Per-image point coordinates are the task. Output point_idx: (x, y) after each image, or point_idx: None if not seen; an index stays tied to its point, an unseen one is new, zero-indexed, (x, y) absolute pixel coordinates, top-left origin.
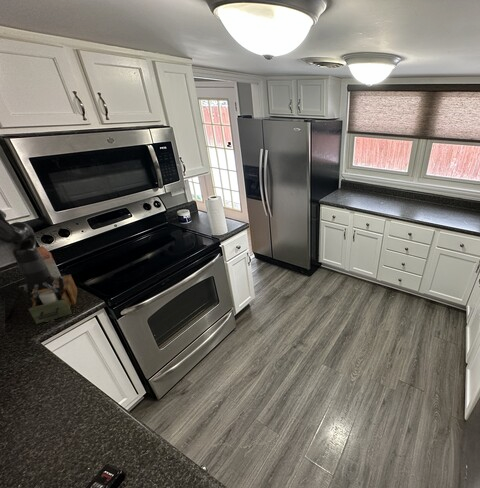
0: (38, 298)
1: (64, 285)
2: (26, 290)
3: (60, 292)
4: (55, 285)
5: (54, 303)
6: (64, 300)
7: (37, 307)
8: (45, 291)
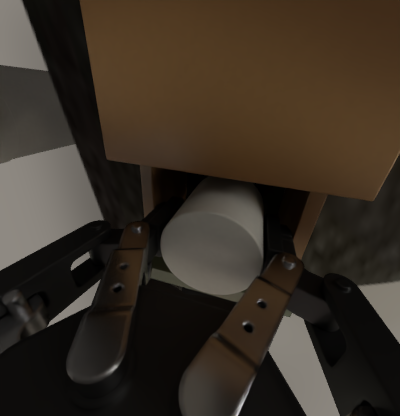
0: None
1: (373, 106)
2: (56, 289)
3: (293, 252)
4: (288, 19)
5: (239, 299)
6: (287, 314)
7: (171, 283)
8: (196, 215)
